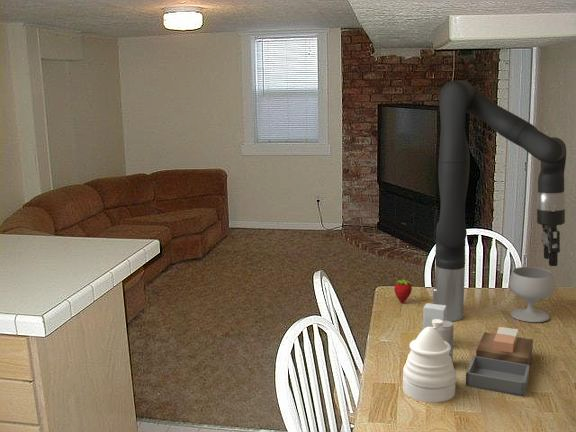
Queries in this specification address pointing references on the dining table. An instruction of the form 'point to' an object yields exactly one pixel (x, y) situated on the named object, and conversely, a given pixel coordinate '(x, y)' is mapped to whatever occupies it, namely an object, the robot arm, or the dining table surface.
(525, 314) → the chalice
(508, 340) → the tile front
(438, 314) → the skincare box
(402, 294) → the strawberry
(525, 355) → the wooden grain block
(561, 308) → the dining table surface
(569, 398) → the dining table surface
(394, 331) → the dining table surface
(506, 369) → the box
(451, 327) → the energy drink
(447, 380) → the honey pot
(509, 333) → the tile back
